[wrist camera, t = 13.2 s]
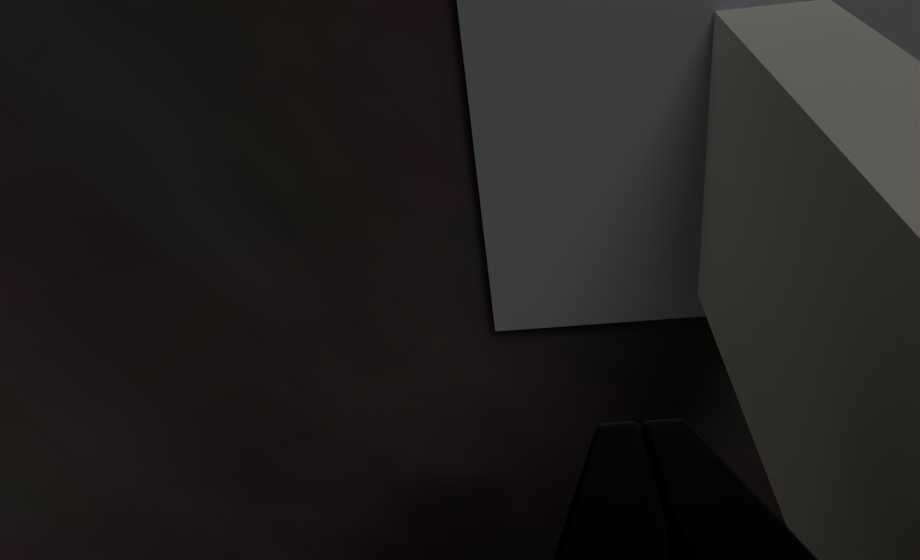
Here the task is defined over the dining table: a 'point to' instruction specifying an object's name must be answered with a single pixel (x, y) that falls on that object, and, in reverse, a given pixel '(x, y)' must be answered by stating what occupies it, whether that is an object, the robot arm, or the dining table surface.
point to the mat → (601, 149)
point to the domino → (819, 267)
